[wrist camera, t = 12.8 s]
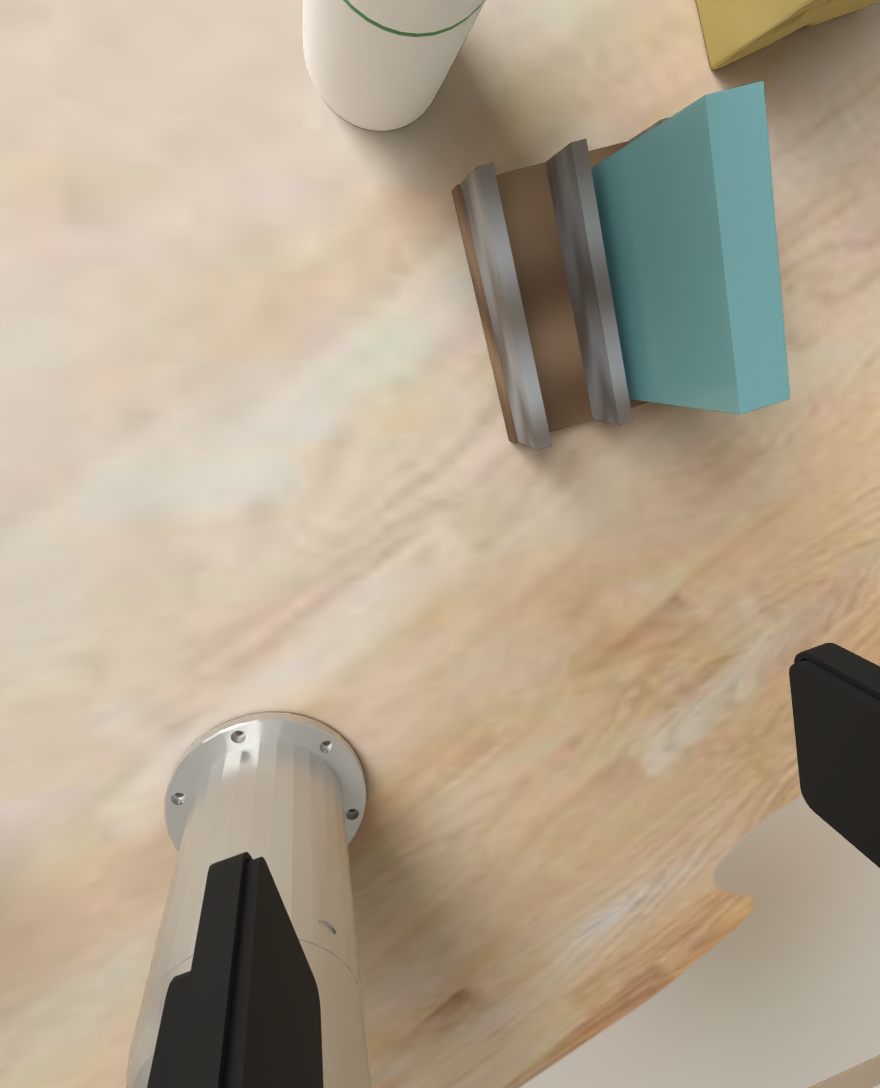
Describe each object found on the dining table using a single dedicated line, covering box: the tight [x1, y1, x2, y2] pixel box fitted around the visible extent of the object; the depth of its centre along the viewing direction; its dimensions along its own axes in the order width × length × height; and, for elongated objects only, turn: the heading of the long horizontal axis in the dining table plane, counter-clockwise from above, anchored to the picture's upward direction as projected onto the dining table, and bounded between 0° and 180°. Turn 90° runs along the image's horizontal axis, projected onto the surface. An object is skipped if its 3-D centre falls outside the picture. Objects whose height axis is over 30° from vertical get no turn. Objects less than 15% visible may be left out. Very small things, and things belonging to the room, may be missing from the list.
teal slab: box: [591, 81, 790, 414], centre depth 32 cm, size 12×2×12 cm, turn 15°
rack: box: [452, 118, 669, 450], centre depth 36 cm, size 14×16×5 cm
